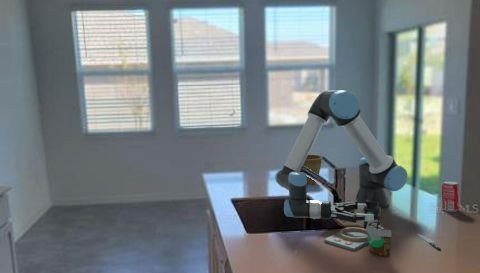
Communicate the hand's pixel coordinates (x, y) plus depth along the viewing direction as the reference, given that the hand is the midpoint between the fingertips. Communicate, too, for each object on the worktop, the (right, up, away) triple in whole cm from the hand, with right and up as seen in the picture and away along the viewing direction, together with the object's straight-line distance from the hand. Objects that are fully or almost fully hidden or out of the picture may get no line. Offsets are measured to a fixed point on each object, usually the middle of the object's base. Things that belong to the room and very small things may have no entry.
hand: (373, 212), depth 172 cm
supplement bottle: (0, -7, +1) cm, 7 cm away
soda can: (+41, -3, +21) cm, 46 cm away
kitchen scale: (-12, -9, -10) cm, 17 cm away
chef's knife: (+17, -9, -13) cm, 23 cm away
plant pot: (-13, +3, +79) cm, 80 cm away
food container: (-6, -10, -22) cm, 25 cm away
